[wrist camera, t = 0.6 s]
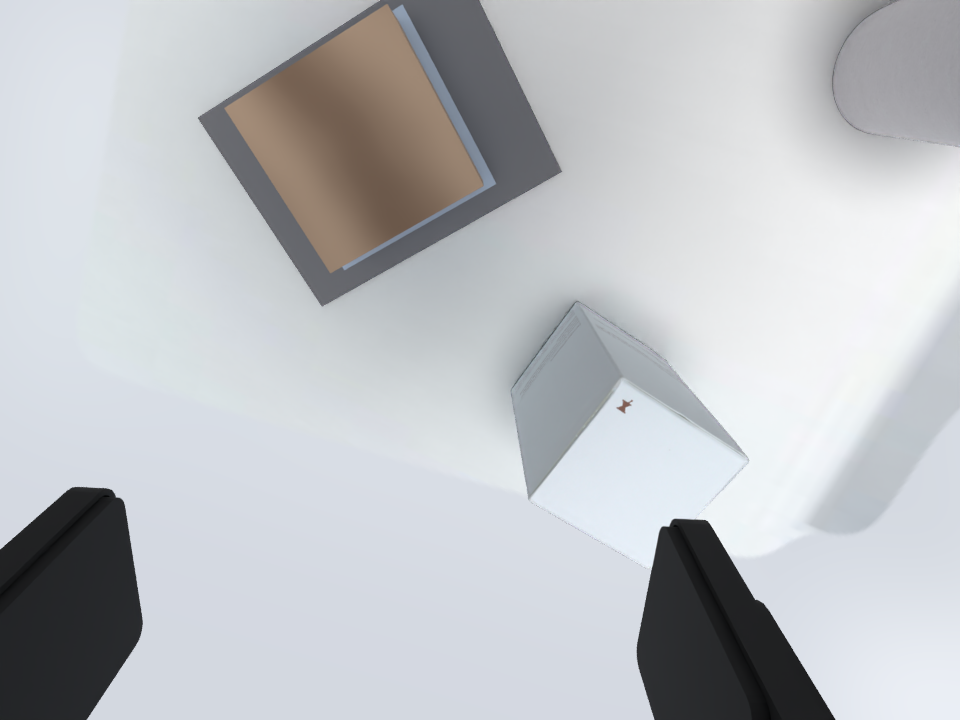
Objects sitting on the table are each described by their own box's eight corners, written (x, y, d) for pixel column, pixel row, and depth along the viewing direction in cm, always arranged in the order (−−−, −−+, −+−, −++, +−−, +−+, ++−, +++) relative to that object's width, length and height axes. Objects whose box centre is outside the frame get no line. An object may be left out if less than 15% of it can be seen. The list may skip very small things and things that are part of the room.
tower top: (398, 21, 28) (387, 3, 25) (482, 179, 31) (483, 185, 27) (255, 111, 30) (224, 108, 26) (347, 257, 32) (330, 273, 28)
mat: (455, -46, 31) (455, -48, 31) (560, 171, 35) (561, 171, 35) (200, 118, 34) (197, 117, 34) (323, 304, 37) (321, 306, 37)
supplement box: (506, 391, 40) (520, 500, 28) (577, 297, 38) (624, 372, 26) (598, 448, 41) (648, 576, 29) (670, 361, 39) (756, 460, 27)
